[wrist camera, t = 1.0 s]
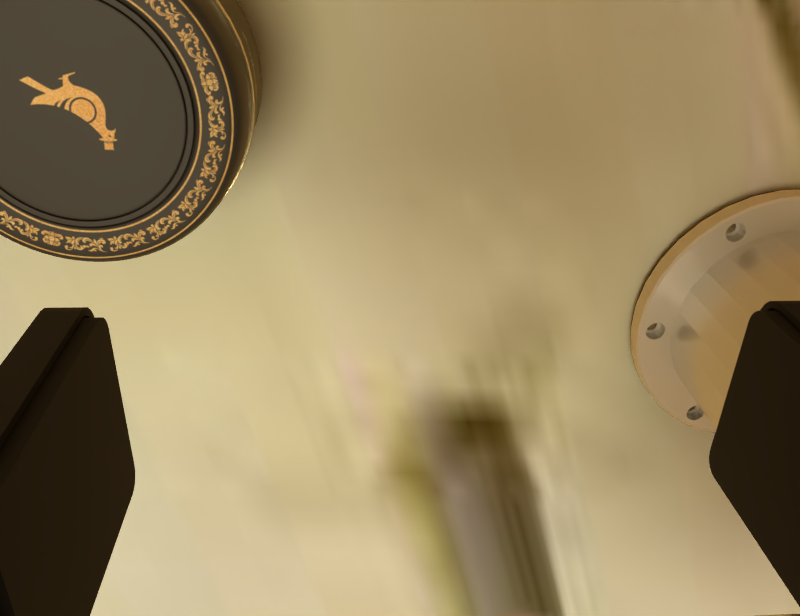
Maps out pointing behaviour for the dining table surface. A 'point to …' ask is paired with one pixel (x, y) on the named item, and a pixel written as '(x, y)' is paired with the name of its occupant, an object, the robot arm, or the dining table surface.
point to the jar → (121, 121)
